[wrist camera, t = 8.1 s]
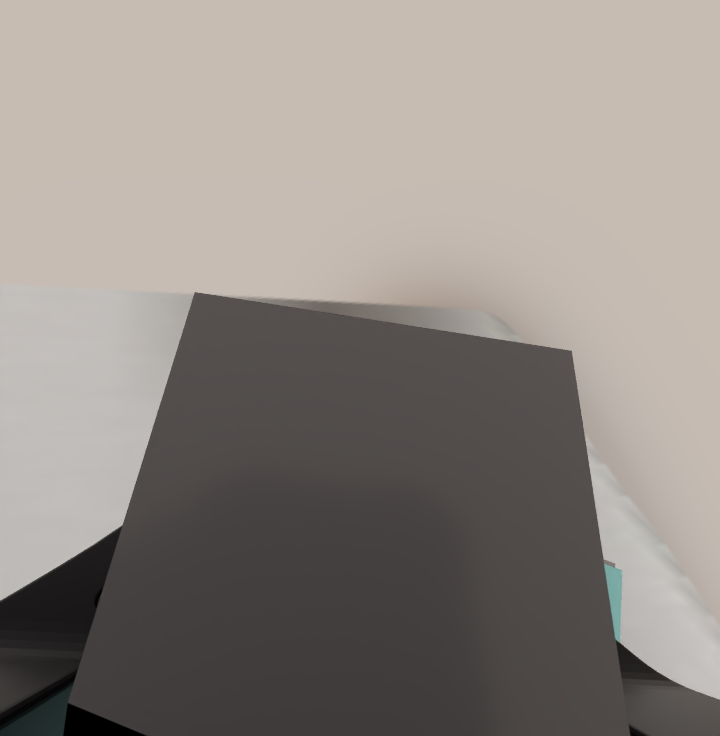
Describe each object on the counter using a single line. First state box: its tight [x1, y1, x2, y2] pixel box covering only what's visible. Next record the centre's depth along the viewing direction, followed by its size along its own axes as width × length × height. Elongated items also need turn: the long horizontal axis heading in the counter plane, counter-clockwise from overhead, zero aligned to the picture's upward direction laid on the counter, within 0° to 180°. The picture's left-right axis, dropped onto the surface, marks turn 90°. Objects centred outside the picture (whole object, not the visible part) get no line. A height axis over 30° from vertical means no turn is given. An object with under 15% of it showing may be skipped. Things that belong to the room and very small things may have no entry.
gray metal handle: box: [63, 292, 630, 736], centre depth 9 cm, size 7×7×14 cm
